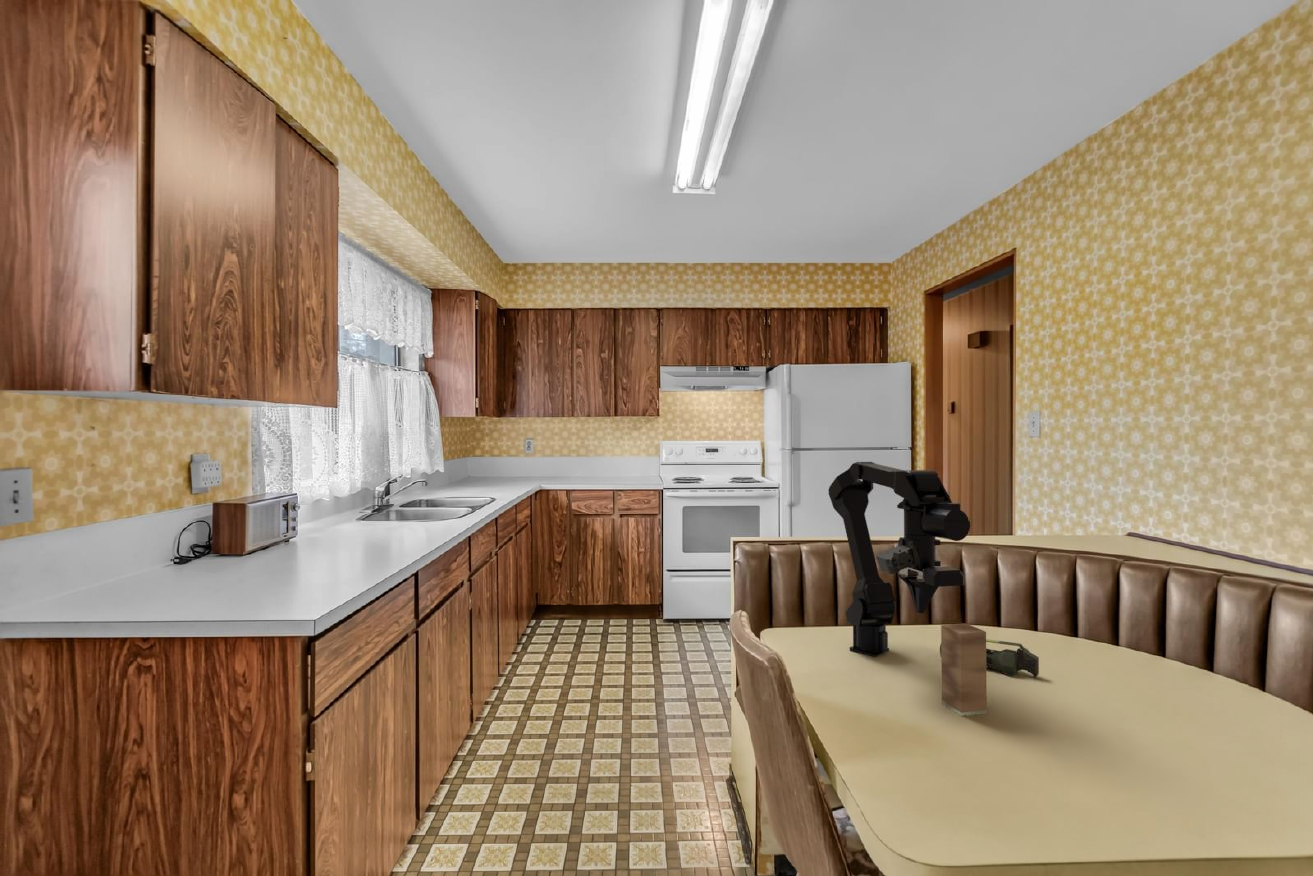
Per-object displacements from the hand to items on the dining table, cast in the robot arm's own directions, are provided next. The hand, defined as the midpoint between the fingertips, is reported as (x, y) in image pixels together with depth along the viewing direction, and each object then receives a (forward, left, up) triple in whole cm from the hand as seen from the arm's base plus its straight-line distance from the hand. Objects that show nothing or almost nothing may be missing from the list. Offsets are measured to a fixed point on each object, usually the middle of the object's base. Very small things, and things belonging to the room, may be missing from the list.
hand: (920, 612), depth 121 cm
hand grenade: (+7, +16, -13) cm, 22 cm away
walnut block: (+11, -8, -13) cm, 19 cm away
